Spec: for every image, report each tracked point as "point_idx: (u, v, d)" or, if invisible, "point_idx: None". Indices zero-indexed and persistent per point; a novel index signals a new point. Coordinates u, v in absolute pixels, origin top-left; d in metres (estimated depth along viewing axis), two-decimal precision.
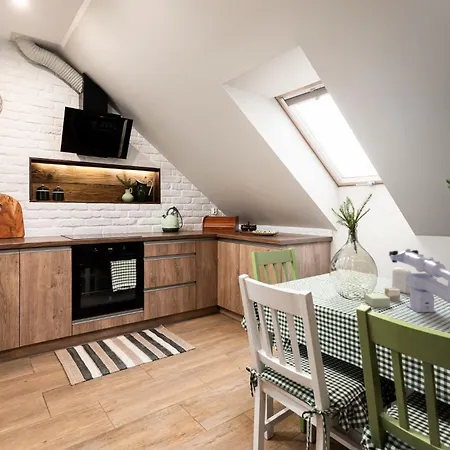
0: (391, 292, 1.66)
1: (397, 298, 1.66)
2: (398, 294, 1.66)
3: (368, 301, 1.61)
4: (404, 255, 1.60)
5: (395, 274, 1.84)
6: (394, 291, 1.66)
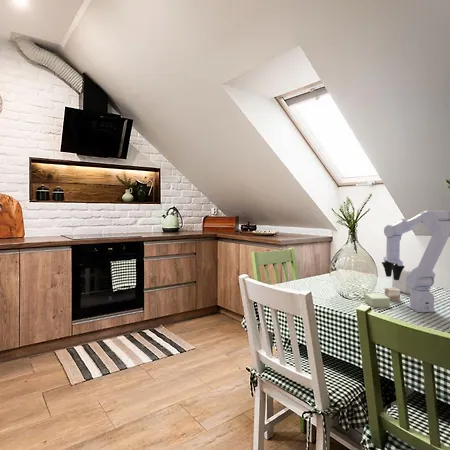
0: (391, 292, 1.66)
1: (397, 298, 1.66)
2: (398, 294, 1.66)
3: (368, 301, 1.61)
4: (393, 257, 1.65)
5: None
6: (394, 291, 1.66)
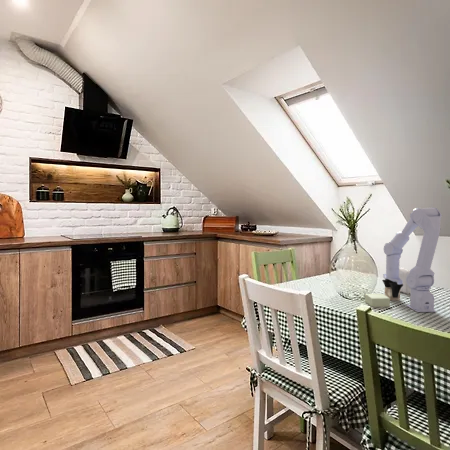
0: (391, 292, 1.66)
1: (397, 298, 1.66)
2: None
3: (367, 301, 1.61)
4: (392, 275, 1.65)
5: None
6: None
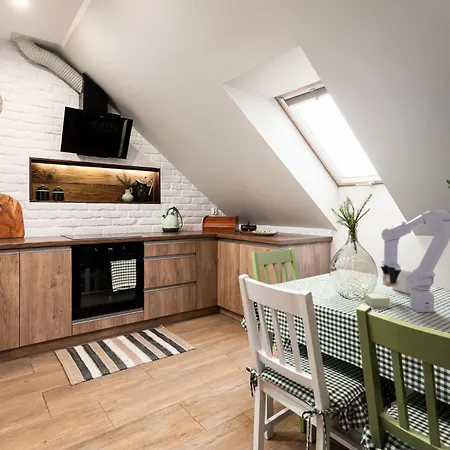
0: (389, 278, 1.64)
1: (395, 284, 1.64)
2: None
3: (367, 301, 1.61)
4: (390, 261, 1.64)
5: None
6: None
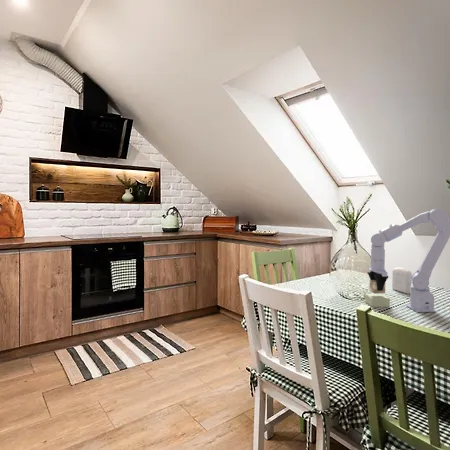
0: (376, 285, 1.57)
1: (382, 291, 1.57)
2: None
3: (367, 301, 1.61)
4: (377, 267, 1.57)
5: (395, 274, 1.84)
6: None
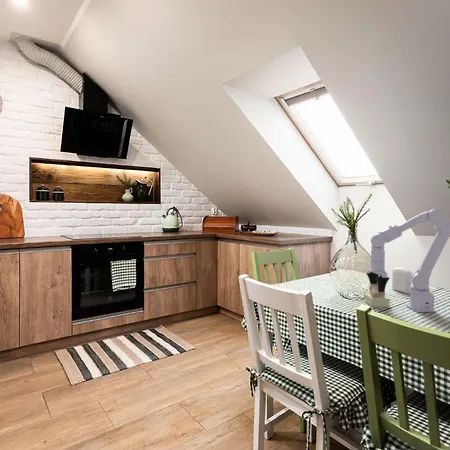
0: (375, 289, 1.57)
1: (382, 295, 1.58)
2: None
3: (367, 301, 1.61)
4: (377, 268, 1.57)
5: (395, 274, 1.84)
6: None
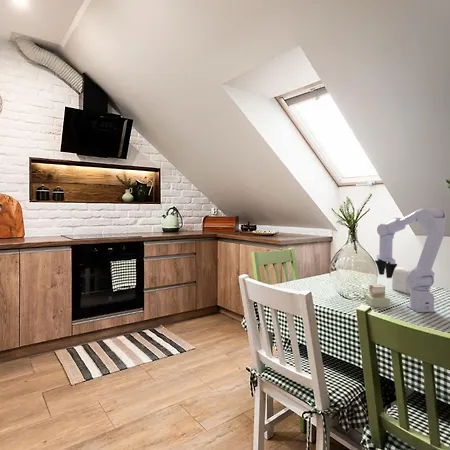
0: (376, 289, 1.58)
1: (382, 295, 1.58)
2: (383, 291, 1.58)
3: (368, 301, 1.61)
4: (385, 255, 1.67)
5: (395, 274, 1.84)
6: (379, 288, 1.58)
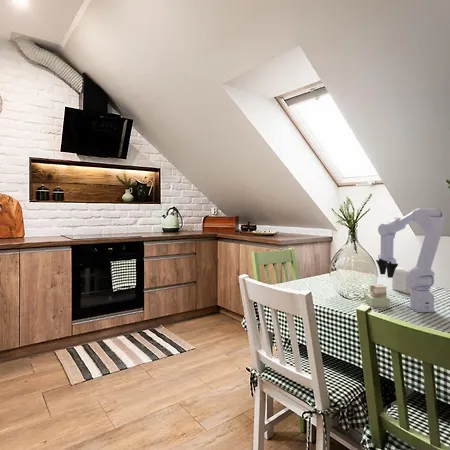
0: (377, 289, 1.57)
1: (383, 295, 1.58)
2: (384, 291, 1.57)
3: (368, 301, 1.61)
4: (386, 255, 1.69)
5: (395, 274, 1.84)
6: (380, 288, 1.57)
